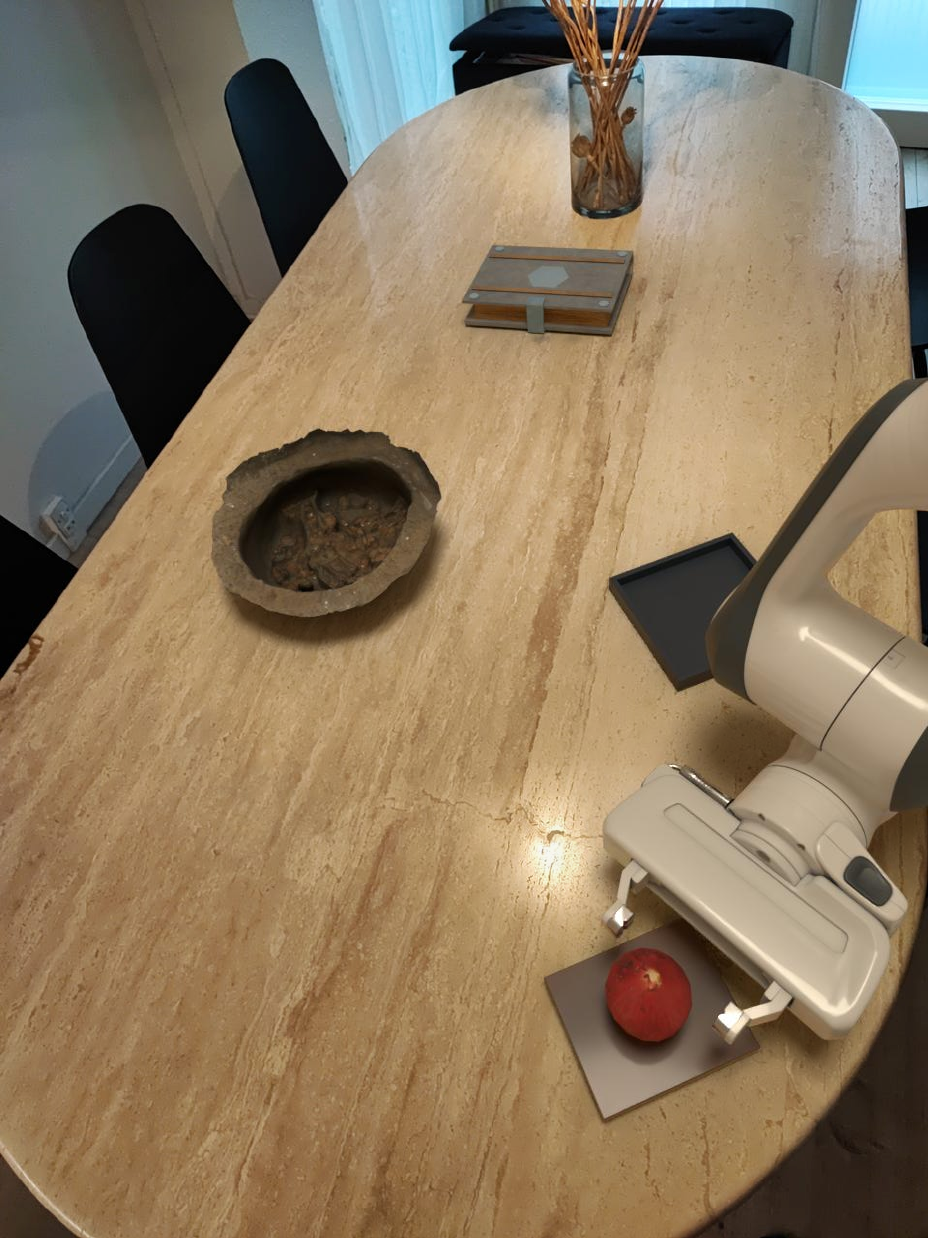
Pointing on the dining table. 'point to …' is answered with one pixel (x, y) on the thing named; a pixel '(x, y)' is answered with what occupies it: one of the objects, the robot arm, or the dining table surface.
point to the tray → (682, 603)
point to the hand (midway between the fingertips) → (662, 979)
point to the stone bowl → (323, 522)
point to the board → (630, 1065)
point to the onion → (648, 994)
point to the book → (550, 289)
